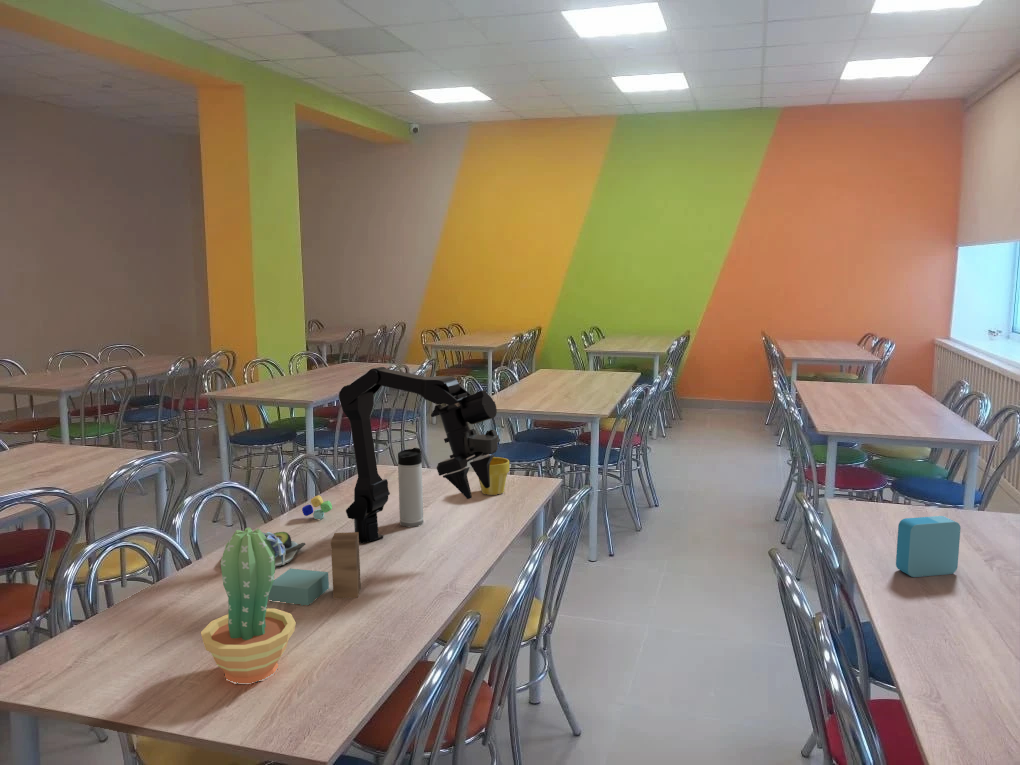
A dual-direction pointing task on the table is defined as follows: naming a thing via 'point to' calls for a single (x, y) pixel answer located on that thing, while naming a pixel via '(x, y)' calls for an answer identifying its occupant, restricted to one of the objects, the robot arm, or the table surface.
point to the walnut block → (345, 565)
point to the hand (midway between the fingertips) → (478, 493)
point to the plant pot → (496, 476)
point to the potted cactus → (249, 610)
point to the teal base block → (299, 586)
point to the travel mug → (410, 487)
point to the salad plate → (287, 547)
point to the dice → (317, 502)
